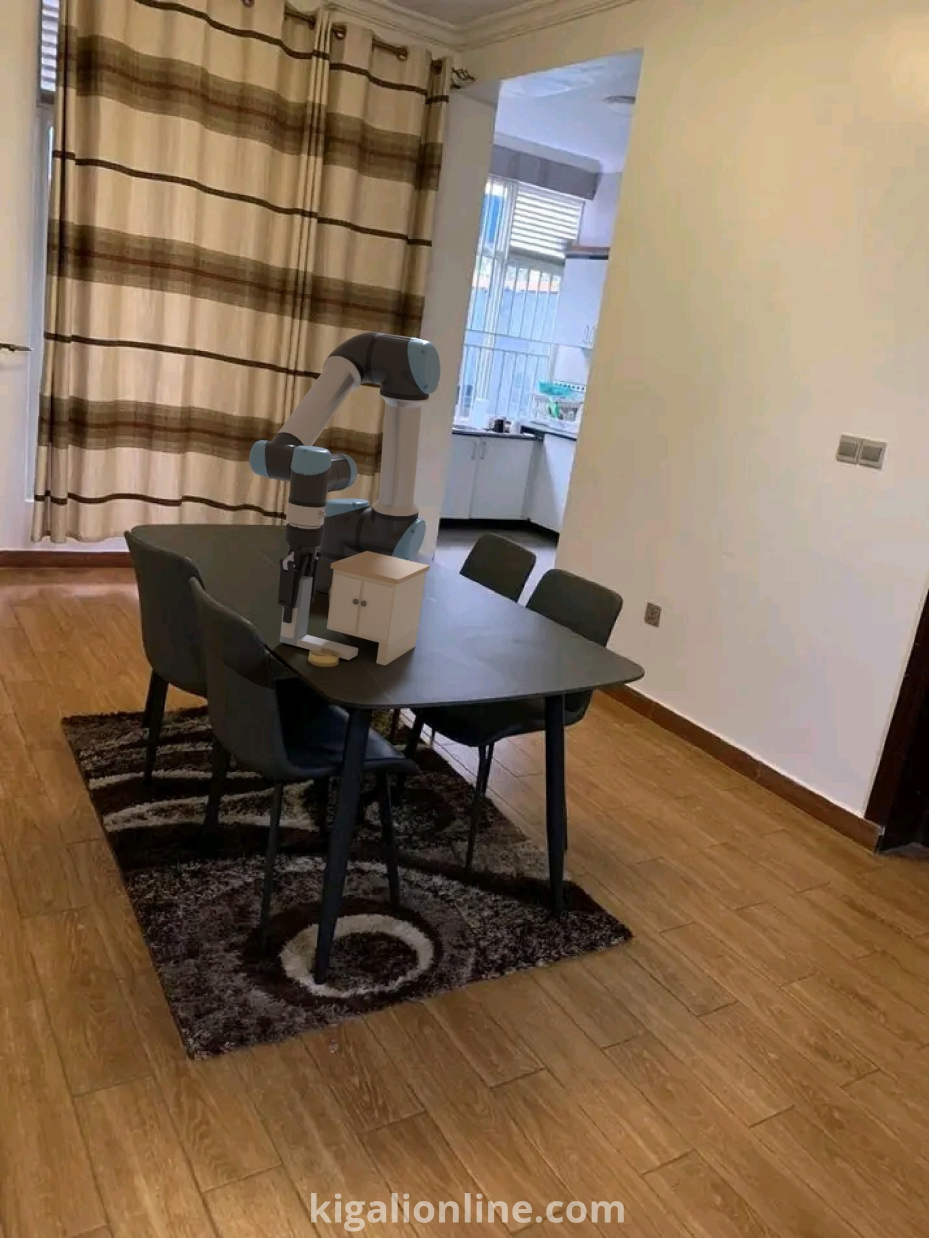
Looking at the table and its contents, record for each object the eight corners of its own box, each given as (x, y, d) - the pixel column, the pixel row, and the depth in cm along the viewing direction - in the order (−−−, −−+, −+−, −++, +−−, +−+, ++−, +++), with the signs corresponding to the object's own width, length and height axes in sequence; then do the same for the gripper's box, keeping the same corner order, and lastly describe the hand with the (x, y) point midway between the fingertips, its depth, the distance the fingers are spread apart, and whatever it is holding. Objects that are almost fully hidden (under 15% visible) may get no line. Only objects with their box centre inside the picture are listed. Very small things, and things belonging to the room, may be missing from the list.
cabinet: (318, 650, 194) (328, 564, 188) (357, 630, 210) (367, 550, 205) (384, 668, 189) (396, 580, 184) (418, 646, 206) (429, 565, 201)
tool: (279, 641, 193) (285, 576, 190) (289, 636, 197) (295, 573, 193) (348, 660, 189) (356, 593, 185) (357, 655, 193) (365, 590, 189)
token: (302, 662, 186) (303, 653, 185) (317, 655, 191) (318, 646, 191) (328, 670, 184) (329, 661, 183) (343, 663, 189) (344, 653, 189)
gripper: (300, 534, 179) (288, 648, 185) (340, 523, 194) (328, 629, 201) (266, 526, 181) (255, 639, 188) (309, 515, 197) (298, 621, 203)
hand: (293, 633), depth 194 cm, fingers closed on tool, 4 cm apart
